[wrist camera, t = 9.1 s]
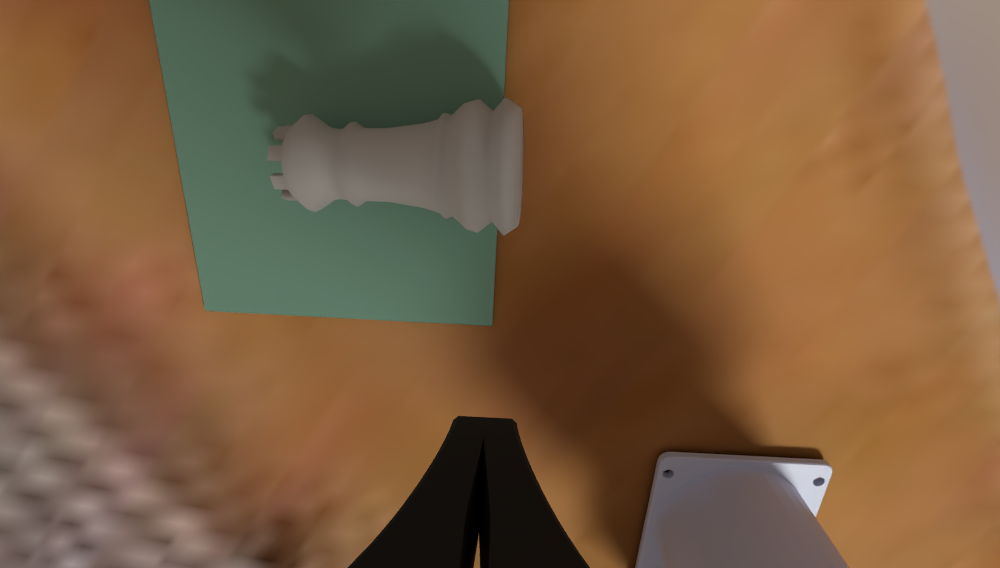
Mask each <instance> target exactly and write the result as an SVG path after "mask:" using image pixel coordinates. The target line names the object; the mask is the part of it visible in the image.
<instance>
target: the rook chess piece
mask: <svg viewBox="0 0 1000 568" xmlns="http://www.w3.org/2000/svg"><path fill="white" fill-rule="evenodd" d="M272 134H273V136H274V138H275V140H284V141H283V144H282V145H268V158H267V161H281V164H282V172H283V173H273V174H272V175H270V179H271V181H272V184H273V187H274V189H288V190H282V194H281V198H283V199H285V200H288V201H298V202H299V203H300V204H302V205H303V206H304V207H305V208H306V209H308V210H311V211H313V212H317V211H319V210H321V209H323V208H324V207H326V206H327V205H329V204H330V203H331V202H333V201H334V200H338V199H343V200H348V201H349V202H350V203H351V204H353V205H355V206H356V207H358V206H360V205H362V204H363V203H365V202H366V201H377V202H391V203H397V204H403V205H409V206H415V207H421V208H425V209H428V210H432V211H435V212H438V213H440V214H441V216H442V217H444V218H445V219H446V218H449V217H454V218H455V219H456V220H457V221H458V222H459V223H460V224H461V225H462V226H463V227H464V228H465V229H467V230H470V231H473V232H476V233H478V232H479V231H481V230H482V229H483V228H485V227H486V226H487V225H489V224H490V223H491V222H492V223H493V224H494V225H495V226H496V227H497V229H498V230H499V231H500V232H501V234H502V235H503V236H504V235H505V234H507V233H509V232H510V231H512V230H513V229H515V228H516V227H518V225H519V222H520V214H521V203H522V186H523V155H524V130H523V113H522V108H521V107H520V106H518V105H517V104H516V103H514V102H513V101H512V100H510V99H509V98H508V97H505V98H504V99H503V100H502V101H501V103H500V104H499V105H498V106H497V107H496V108H495V110H494V111H493V110H492V109H491V108H490V107H489V106H488V105H486V104H485V103H484V102H483V101H482V100H481V99H478V100H474V101H470V102H467V103H464V104H463V105H462V106H461V107H460V108H459V109H458V110H457V111H456V112H455V113H453V114H452V115H451V114H448V113H443V114H442V115H441V116H440V117H439V119H437V120H434V121H430V122H427V123H423V124H415V125H407V126H399V127H391V128H364V127H363V126H361V125H360V124H359V123H358V122H356V121H355V122H350V123H349V124H348V125H347V126H346V127H345V128H343V129H337V128H331V127H330V126H328V125H327V124H326V123H324V122H323V121H322V120H320V119H319V118H318V117H316V116H315V115H314V114H306V115H303V116H302V117H301V118H300V119H299V120H298V121H297V122H296V123H295V124H294V125H285V126H278V127H277V128H276V129H275V130H274V132H273V133H272Z"/></svg>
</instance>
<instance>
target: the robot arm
mask: <svg viewBox="0 0 1000 568" xmlns="http://www.w3.org/2000/svg"><path fill="white" fill-rule="evenodd" d="M669 469H670V470H671V471H669V472H664V471H666V470H669ZM831 475H832V467H831V466H830V465H829V463H828V462H826V461H825V460H821V459H802V458H783V457H763V456H744V455H724V454H705V453H686V452H665V453H663V454H661V455H660V456H659V458H658V460H657V465H656V469H655V474H654V479H653V484H652V489H651V493H650V498H649V503H648V508H647V513H646V518H645V522H644V527H643V532H642V537H641V542H640V546H639V551H638V556H637V561H636V566H635V568H849V567H848V565H847V564H846V562H845V561H844V559H843V558H842V556H841V555H840V553H839V552H838V550H837V549H836V547H835V546H834V544H833V543H832V541H831V540H830V538H829V537H828V535H827V534H826V532H825V531H824V529H823V528H822V526H821V525H820V523H819V522H818V520H817V519H816V515H817V513H818V510H819V507H820V504H821V502H822V499H823V496H824V494H825V491H826V488H827V486H828V483H829V480H830V478H831ZM816 478H818V479H816ZM815 479H816V480H815ZM478 535H479V544H480V568H590V567H589V566H588V564H587V563H586V562H585V560H584V559H583V558H582V556H581V555H580V553H579V552H578V550H577V549H576V547H575V546H574V544H573V543H572V541H571V540H570V538H569V537H568V535H567V534H566V532H565V531H564V529H563V527H562V526H561V524H560V522H559V521H558V519H557V517H556V515H555V514H554V512H553V510H552V508H551V507H550V505H549V503H548V501H547V499H546V497H545V495H544V493H543V492H542V490H541V487H540V485H539V483H538V481H537V479H536V477H535V475H534V473H533V471H532V468H531V466H530V464H529V461H528V459H527V456H526V454H525V451H524V448H523V446H522V443H521V440H520V436H519V433H518V429H517V423H516V422H515V421H514V420H513V419H505V418H486V417H467V416H458V417H457V418H455V419H454V420H453V422H452V425H451V428H450V430H449V432H448V434H447V436H446V438H445V440H444V442H443V444H442V446H441V448H440V450H439V451H438V453H437V455H436V457H435V458H434V460H433V462H432V463H431V465H430V466H429V468H428V470H427V471H426V473H425V474H424V476H423V478H422V479H421V481H420V482H419V483H418V485H417V486H416V488H415V489H414V490H413V492H412V493H411V495H410V496H409V497H408V499H407V500H406V501H405V503H404V504H403V506H402V507H401V508H400V510H399V511H398V512H397V513H396V515H395V516H394V517H393V518H392V520H391V521H390V522H389V523H388V524H387V526H386V527H385V528H384V529H383V530H382V531H381V533H380V534H379V535H378V536H377V537H376V538H375V539H374V541H373V542H372V543H371V544H370V545H369V546H368V547H367V548H366V549H365V550H364V551H363V552H362V553H361V554H360V555H359V556H358V557H357V558H356V560H355V561H354V562H353V563H352V564H351V565H350V566H349V567H348V568H473V567H474V561H475V554H476V548H477V542H478Z"/></svg>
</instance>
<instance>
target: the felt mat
mask: <svg viewBox="0 0 1000 568" xmlns="http://www.w3.org/2000/svg"><path fill="white" fill-rule="evenodd" d="M149 3H150V9H151V14H152V20H153V25H154V31H155V36H156V42H157V47H158V53H159V58H160V64H161V69H162V75H163V80H164V86H165V92H166V97H167V103H168V108H169V114H170V119H171V125H172V130H173V136H174V141H175V147H176V152H177V158H178V163H179V169H180V174H181V180H182V186H183V191H184V197H185V202H186V208H187V213H188V219H189V224H190V230H191V235H192V241H193V246H194V252H195V257H196V263H197V269H198V274H199V280H200V285H201V291H202V296H203V302H204V307H205V311H219V312H238V313H257V314H276V315H295V316H314V317H333V318H352V319H371V320H390V321H409V322H428V323H447V324H466V325H485V326H492V322H493V302H494V283H495V263H496V243H497V227H496V226H495V225H494V224H493V223H492V222H491V223H490V224H489V225H487V226H486V227H485V228H483V229H482V230H481V231H479V232H478V233H476V232H473V231H470V230H467V229H465V228H464V227H463V226H462V225H461V224H460V223H459V222H458V221H457V220H456V219H455V218H454V217H449V218H446V219H445V218H444V217H442V216H441V214H440V213H438V212H435V211H432V210H428V209H425V208H421V207H415V206H409V205H403V204H397V203H391V202H377V201H366V202H365V203H363V204H362V205H360V206H358V207H356V206H355V205H353V204H351V203H350V202H349V201H348V200H343V199H338V200H334V201H333V202H331V203H330V204H329V205H327V206H326V207H324V208H323V209H321V210H319V211H317V212H313V211H311V210H308V209H306V208H305V207H304V206H303V205H302V204H300V203H299V202H298V201H288V200H285V199H283V198H281V194H282V190H288V189H274V187H273V184H272V181H271V179H270V175H272V174H273V173H283V172H282V164H281V161H267V158H268V145H282V144H283V141H284V140H275V138H274V136H273V134H272V133H273V132H274V130H275V129H276V128H277V127H278V126H285V125H294V124H295V123H296V122H297V121H298V120H299V119H300V118H301V117H302V116H303V115H306V114H314V115H315V116H316V117H318V118H319V119H320V120H322V121H323V122H324V123H326V124H327V125H328V126H330V127H331V128H337V129H343V128H345V127H346V126H347V125H348V124H349V123H350V122H355V121H356V122H358V123H359V124H360V125H361V126H363V127H364V128H391V127H399V126H407V125H415V124H423V123H427V122H430V121H434V120H437V119H439V117H440V116H441V115H442V114H443V113H448V114H451V115H452V114H453V113H455V112H456V111H457V110H458V109H459V108H460V107H461V106H462V105H463V104H464V103H467V102H470V101H474V100H478V99H481V100H482V101H483V102H484V103H485V104H486V105H488V106H489V107H490V108H491V109H492V110H493V111H494V110H495V108H496V107H497V106H498V105H499V104H500V103H501V101H502V100H503V99H504V86H505V66H506V47H507V27H508V7H509V0H149Z"/></svg>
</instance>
